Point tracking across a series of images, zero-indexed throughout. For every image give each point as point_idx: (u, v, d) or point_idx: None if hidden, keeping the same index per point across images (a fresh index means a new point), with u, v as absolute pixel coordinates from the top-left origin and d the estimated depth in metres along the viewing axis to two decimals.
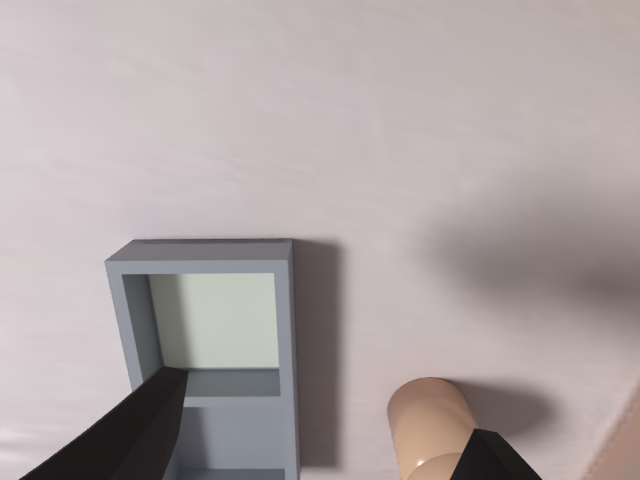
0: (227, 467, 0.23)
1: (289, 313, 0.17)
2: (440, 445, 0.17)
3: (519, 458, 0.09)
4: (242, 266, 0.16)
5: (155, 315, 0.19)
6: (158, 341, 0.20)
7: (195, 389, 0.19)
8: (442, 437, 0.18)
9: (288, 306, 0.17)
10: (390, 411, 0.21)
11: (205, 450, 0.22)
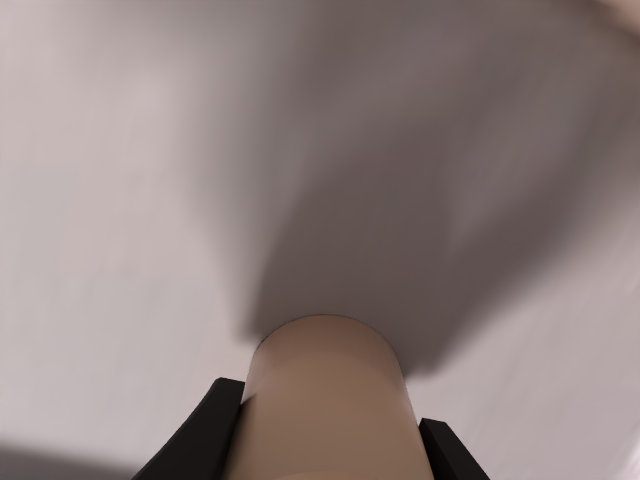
0: None
1: None
2: None
3: (462, 447, 0.08)
4: None
5: None
6: None
7: None
8: None
9: None
10: None
11: None
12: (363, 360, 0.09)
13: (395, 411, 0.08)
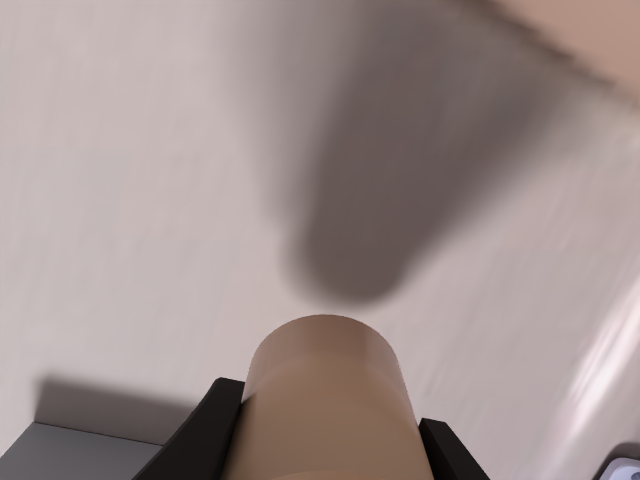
0: None
1: None
2: None
3: (462, 447, 0.08)
4: None
5: None
6: None
7: None
8: None
9: None
10: None
11: None
12: (362, 360, 0.09)
13: (394, 410, 0.08)
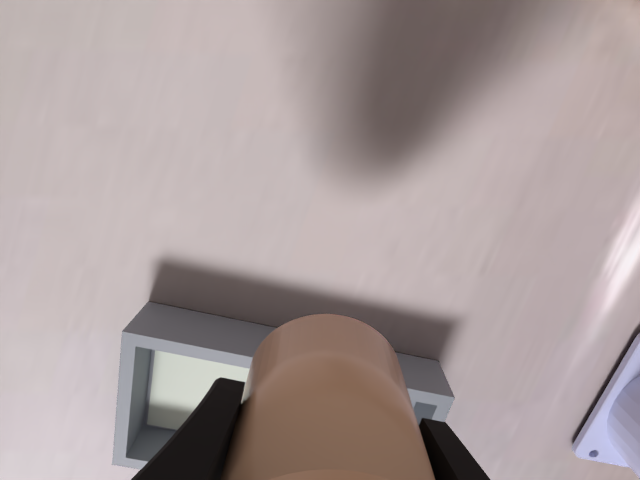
0: None
1: (183, 343, 0.17)
2: None
3: (462, 447, 0.08)
4: (126, 369, 0.17)
5: None
6: None
7: None
8: None
9: (173, 343, 0.16)
10: None
11: None
12: (363, 359, 0.09)
13: (396, 410, 0.08)
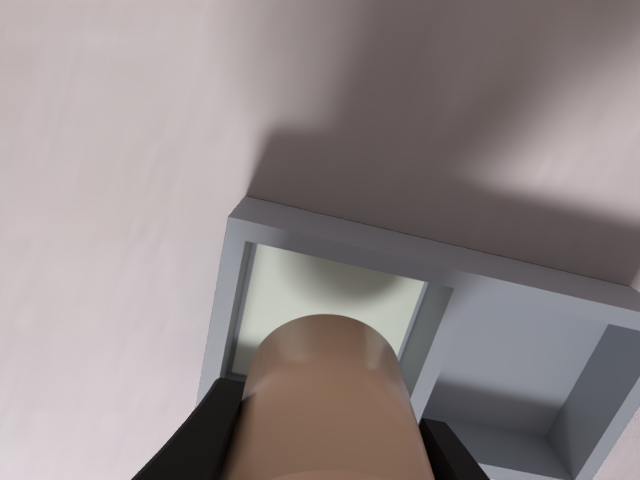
0: (571, 384, 0.15)
1: (315, 237, 0.11)
2: None
3: (462, 447, 0.08)
4: (227, 277, 0.12)
5: None
6: None
7: (407, 387, 0.14)
8: None
9: (302, 235, 0.11)
10: None
11: (529, 400, 0.16)
12: (362, 359, 0.09)
13: (395, 410, 0.08)
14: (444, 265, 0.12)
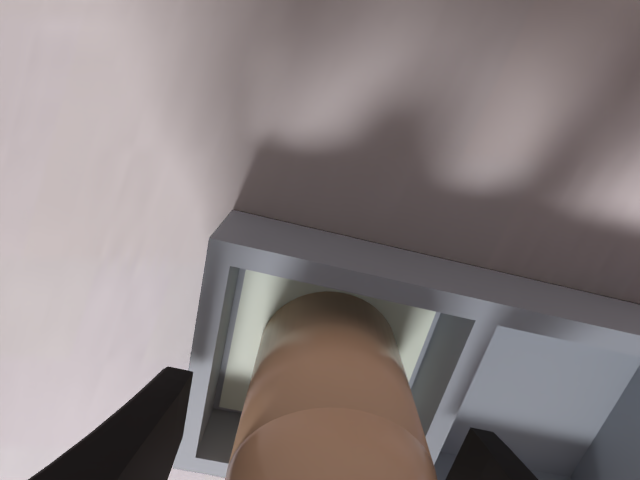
0: (602, 420, 0.14)
1: (313, 261, 0.10)
2: None
3: (514, 457, 0.09)
4: (209, 308, 0.10)
5: None
6: None
7: None
8: None
9: (297, 260, 0.10)
10: None
11: (553, 437, 0.14)
12: (361, 328, 0.10)
13: (388, 368, 0.09)
14: (464, 293, 0.10)
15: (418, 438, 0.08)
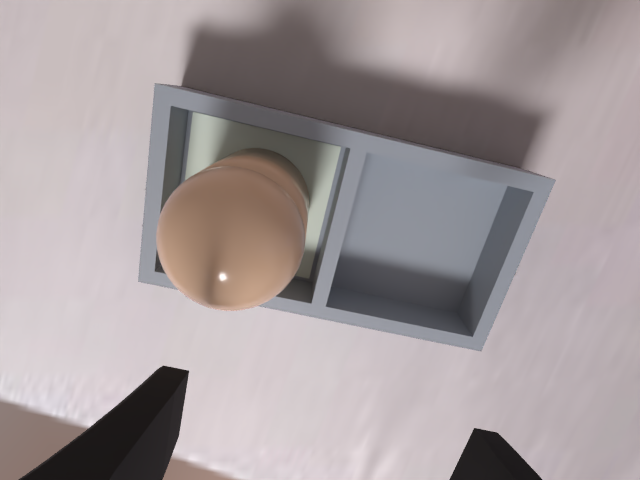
0: (475, 258, 0.17)
1: (230, 102, 0.13)
2: None
3: (519, 458, 0.09)
4: (158, 141, 0.14)
5: None
6: None
7: (323, 250, 0.16)
8: None
9: (218, 100, 0.13)
10: None
11: (440, 275, 0.18)
12: (269, 157, 0.14)
13: (282, 172, 0.13)
14: (341, 128, 0.14)
15: (288, 193, 0.12)
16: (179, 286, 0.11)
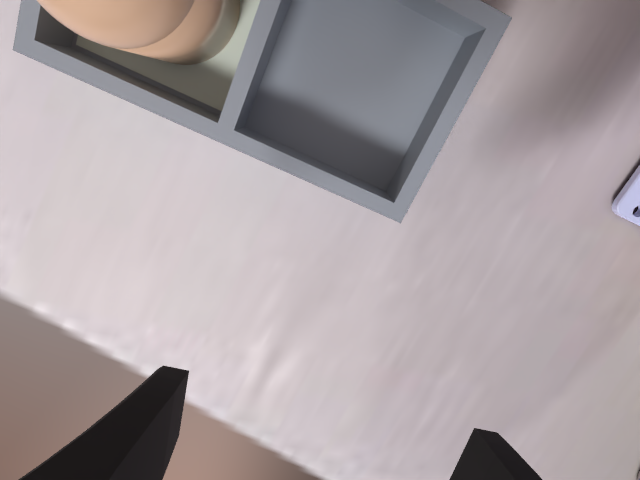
0: (414, 126, 0.16)
1: None
2: None
3: (519, 458, 0.09)
4: None
5: (152, 81, 0.15)
6: (189, 100, 0.15)
7: None
8: None
9: None
10: None
11: (373, 140, 0.16)
12: None
13: None
14: None
15: None
16: None
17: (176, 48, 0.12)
